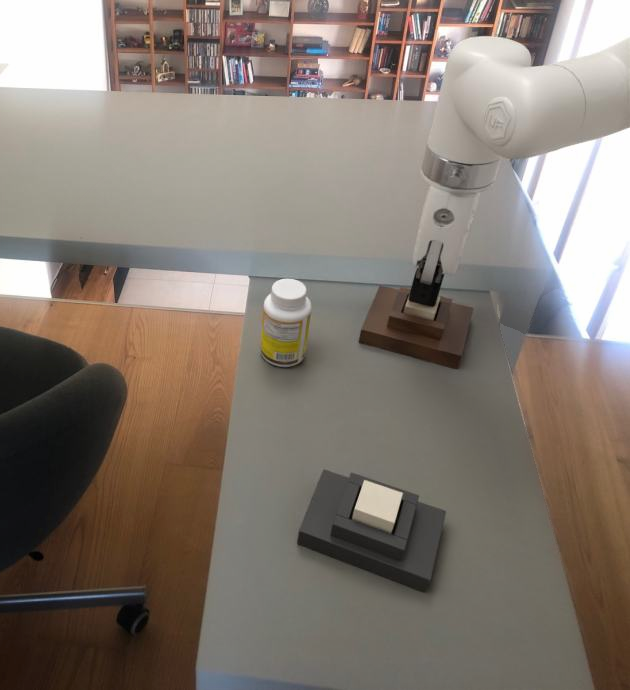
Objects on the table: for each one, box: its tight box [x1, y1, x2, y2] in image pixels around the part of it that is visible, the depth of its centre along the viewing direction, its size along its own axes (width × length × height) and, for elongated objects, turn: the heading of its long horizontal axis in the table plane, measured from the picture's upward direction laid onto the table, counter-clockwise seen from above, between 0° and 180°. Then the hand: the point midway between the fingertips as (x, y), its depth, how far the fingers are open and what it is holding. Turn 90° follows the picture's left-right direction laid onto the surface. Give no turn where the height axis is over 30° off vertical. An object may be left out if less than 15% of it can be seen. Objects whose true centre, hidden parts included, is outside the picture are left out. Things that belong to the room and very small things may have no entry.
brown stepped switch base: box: [358, 285, 475, 370], centre depth 87 cm, size 12×10×4 cm
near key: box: [352, 480, 403, 534], centre depth 64 cm, size 4×4×2 cm
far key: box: [404, 294, 440, 321], centre depth 86 cm, size 4×4×2 cm
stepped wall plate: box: [296, 468, 447, 593], centre depth 65 cm, size 12×8×4 cm, turn 64°
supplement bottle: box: [260, 278, 312, 368], centre depth 83 cm, size 6×6×10 cm
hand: (422, 300), depth 86 cm, fingers closed
